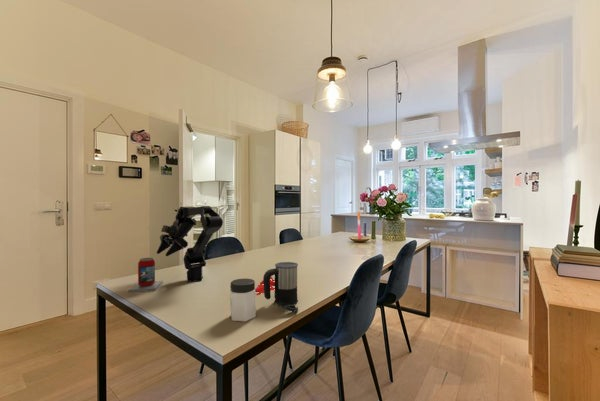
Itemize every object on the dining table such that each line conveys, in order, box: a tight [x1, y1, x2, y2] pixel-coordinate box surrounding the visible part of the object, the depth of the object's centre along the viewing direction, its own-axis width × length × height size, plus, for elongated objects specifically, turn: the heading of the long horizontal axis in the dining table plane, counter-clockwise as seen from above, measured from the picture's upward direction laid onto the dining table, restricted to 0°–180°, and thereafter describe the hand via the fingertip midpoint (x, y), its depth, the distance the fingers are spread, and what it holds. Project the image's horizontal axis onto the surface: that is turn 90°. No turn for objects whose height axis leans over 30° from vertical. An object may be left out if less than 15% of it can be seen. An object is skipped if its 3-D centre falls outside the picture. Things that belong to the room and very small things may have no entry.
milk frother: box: [262, 261, 299, 313], centre depth 106 cm, size 14×16×15 cm
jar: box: [230, 278, 256, 322], centre depth 97 cm, size 9×8×12 cm
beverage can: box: [137, 257, 156, 287], centre depth 130 cm, size 7×7×12 cm
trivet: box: [128, 280, 164, 293], centre depth 130 cm, size 11×11×1 cm
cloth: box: [255, 276, 275, 296], centre depth 130 cm, size 26×14×2 cm, turn 160°
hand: (161, 254), depth 136 cm, fingers open, 9 cm apart
